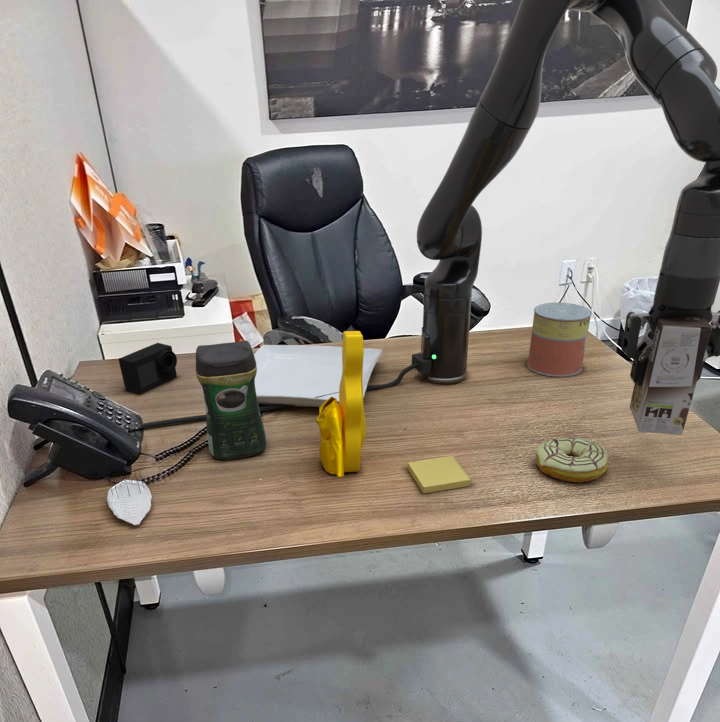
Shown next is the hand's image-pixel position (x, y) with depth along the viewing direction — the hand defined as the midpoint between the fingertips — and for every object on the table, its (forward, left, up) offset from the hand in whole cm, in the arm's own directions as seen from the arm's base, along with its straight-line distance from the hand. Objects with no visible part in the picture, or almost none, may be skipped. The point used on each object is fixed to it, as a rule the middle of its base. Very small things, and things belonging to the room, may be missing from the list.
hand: (663, 383), depth 95 cm
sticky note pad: (-32, -2, -14) cm, 36 cm away
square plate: (-55, +34, -15) cm, 67 cm away
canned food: (-3, +42, -15) cm, 45 cm away
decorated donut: (-11, 0, -15) cm, 19 cm away
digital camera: (-87, +36, -15) cm, 96 cm away
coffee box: (0, 0, -6) cm, 6 cm away
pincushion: (-78, -9, -15) cm, 80 cm away
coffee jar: (-65, +8, -15) cm, 68 cm away
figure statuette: (-47, +2, -15) cm, 50 cm away
